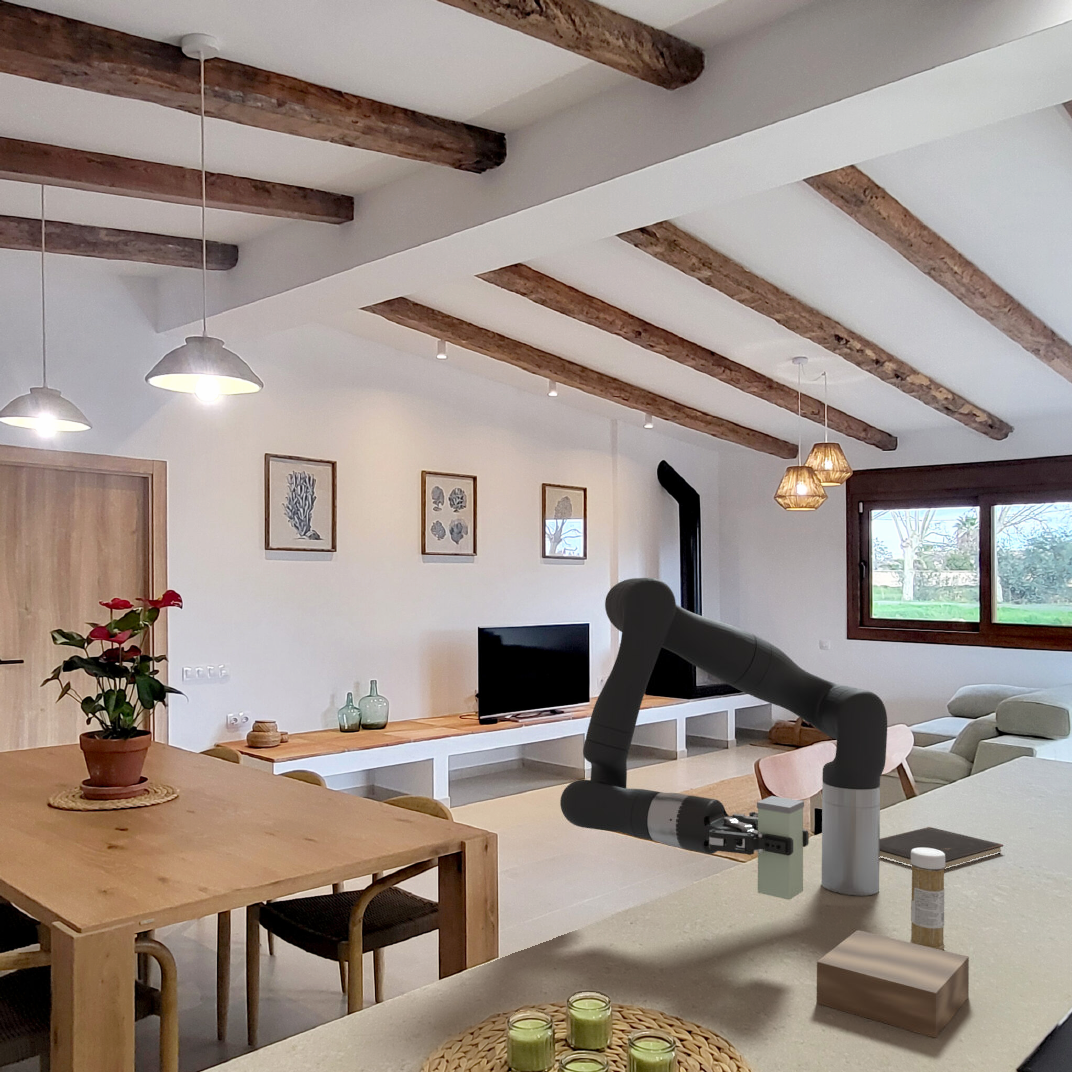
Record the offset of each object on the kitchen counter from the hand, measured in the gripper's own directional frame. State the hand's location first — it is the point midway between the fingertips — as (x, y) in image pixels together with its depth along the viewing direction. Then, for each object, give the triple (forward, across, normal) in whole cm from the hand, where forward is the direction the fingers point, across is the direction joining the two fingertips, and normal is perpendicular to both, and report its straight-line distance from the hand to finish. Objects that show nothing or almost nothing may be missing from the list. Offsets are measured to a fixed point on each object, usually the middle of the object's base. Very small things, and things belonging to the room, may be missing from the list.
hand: (799, 842), depth 133 cm
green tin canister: (-3, 0, +7) cm, 8 cm away
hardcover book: (-3, +68, +18) cm, 71 cm away
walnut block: (+13, -2, +16) cm, 21 cm away
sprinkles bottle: (+11, +19, +17) cm, 27 cm away
